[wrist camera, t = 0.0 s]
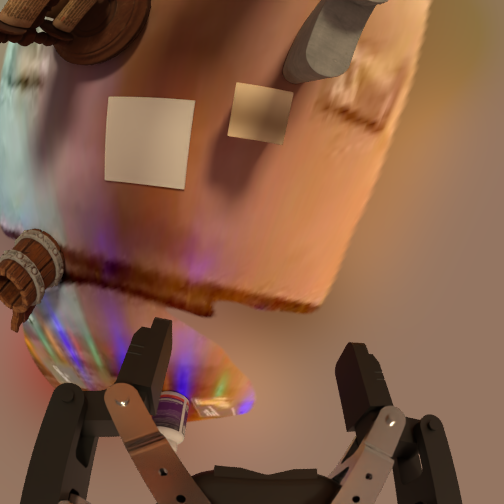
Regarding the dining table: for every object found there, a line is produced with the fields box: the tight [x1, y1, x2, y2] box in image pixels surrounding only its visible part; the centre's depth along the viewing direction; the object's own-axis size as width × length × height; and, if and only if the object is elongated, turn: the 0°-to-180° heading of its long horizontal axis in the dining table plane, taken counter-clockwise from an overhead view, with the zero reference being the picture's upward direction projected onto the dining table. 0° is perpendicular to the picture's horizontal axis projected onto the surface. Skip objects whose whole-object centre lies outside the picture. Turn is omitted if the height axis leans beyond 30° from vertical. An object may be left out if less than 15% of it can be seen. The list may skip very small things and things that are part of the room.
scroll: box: [0, 0, 151, 65], centre depth 18 cm, size 15×15×20 cm
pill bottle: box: [152, 391, 189, 452], centre depth 59 cm, size 8×8×14 cm
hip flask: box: [283, 0, 388, 84], centre depth 20 cm, size 16×4×20 cm, turn 152°
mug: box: [0, 229, 65, 332], centre depth 40 cm, size 12×14×15 cm
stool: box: [227, 82, 293, 145], centre depth 31 cm, size 6×6×8 cm
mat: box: [105, 97, 195, 189], centre depth 36 cm, size 12×12×1 cm
